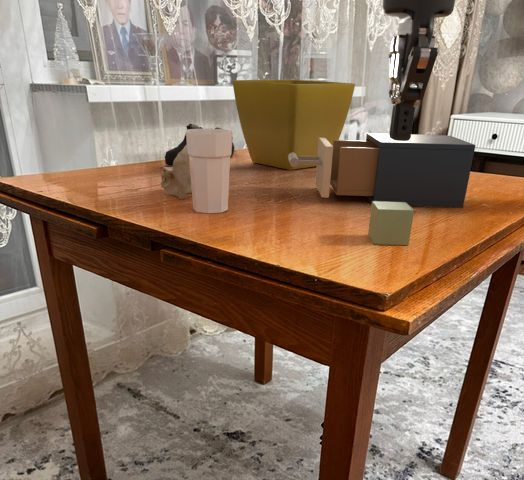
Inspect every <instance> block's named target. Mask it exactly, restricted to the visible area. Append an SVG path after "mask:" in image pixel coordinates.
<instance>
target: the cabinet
mask: <svg viewBox="0 0 524 480" xmlns="http://www.w3.org/2000/svg"><path fill="white" fill-rule="evenodd" d="M365 141H372V142H373V143H375V144H376V145H377V146H379V154H378V162H377V170H376V178H375V186H374V195H373V196H365V197H366V198H367V200H368V201H369V202H370V203H371V204H372V201H380V202H406V203H407V204H408V205H409V206H410V207H415V208H416V207H417V208H419V207H420V208H452V209H453V208H455V209H456V208H457V209H463V208H464V205H465V200H466V196H467V191H468V185H469V181H470V180H469V179H470V175H471V171H472V170H471V169H472V165H473V160H474V155H475V150H476V144H474V143H471V142H469V141H466V140H463V139H461V138H457V137H455V136H452V135H445V134H444V135H442V134H441V135H440V134H412V133H411V138H410V139H409V140H408V141H395V140H393V139H391V138H390V136H389V133H375V132H367V133H366V137H365Z"/></svg>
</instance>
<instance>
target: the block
mask: <svg viewBox="0 0 524 480" xmlns="http://www.w3.org/2000/svg"><path fill="white" fill-rule="evenodd" d="M370 205H371V206H370V215H369V222H368V229H367V231H368V232H367V236H368V237H369V239H370V240H371V242H372V243H373V245H379V246H381V245H382V246H385V245H386V246H409V245H410V240H411V234H412V227H413V221H414V215H415V210H414V209H413V207H412V206H409V205H408V204H407V203H406V202H380V201H372V203H371V204H370Z"/></svg>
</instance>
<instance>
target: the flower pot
mask: <svg viewBox="0 0 524 480" xmlns="http://www.w3.org/2000/svg"><path fill="white" fill-rule="evenodd" d="M355 87H356V83H355V82H341V81H339V82H338V81H324V80H306V79H305V80H304V79H233V80H232V89H233V94H234V100H235V106H236V110H237V111H236V112H237V116H238V120H239V124H240V128H241V132H242V135H243V139H244V142H245V145H246V148H247V151H248V154H249V157H250V159H251V162H252V163H254V164H255V163H256V164H260V165H265V166H269V167H272V168H273V167H274V168H279V169H283V170H288V171H289V170H290V171H294V170H299V169H300V170H301V169H305V168H312V167H317V165H305V164H298V166H297V167H292V166H291V165H290V162H289V159H288V155H289V154H290V153H292V152H293V153H295V154H296V155H297V156H317V154H318V140H319V138H326V139H327V140H328V141H329V143H330V144H331V145H332V146H333V140H340V138H341V135H342V133H343V129H344V127H345V123H346V120H347V117H348V114H349V111H350V108H351V104H352V101H353V96H354V92H355ZM316 161H317V160H316Z"/></svg>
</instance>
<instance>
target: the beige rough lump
mask: <svg viewBox="0 0 524 480" xmlns="http://www.w3.org/2000/svg"><path fill="white" fill-rule="evenodd" d="M160 179H161V181H160V186H161V188H162V189H163V191H164V192H165V195H173V196H174V197H175V196H176V197H177V198H178V199H179V200H186V199H187V195H188V194H192V186H191V174H190V163H189V155H188V152H187V144H186V146H185V147H184V148H183V150H182V151H181V152H179V153H178V155H177V157H176V158H175V159H174V161H173V165H172V166H164V167H163V171H161V172H160Z"/></svg>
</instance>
